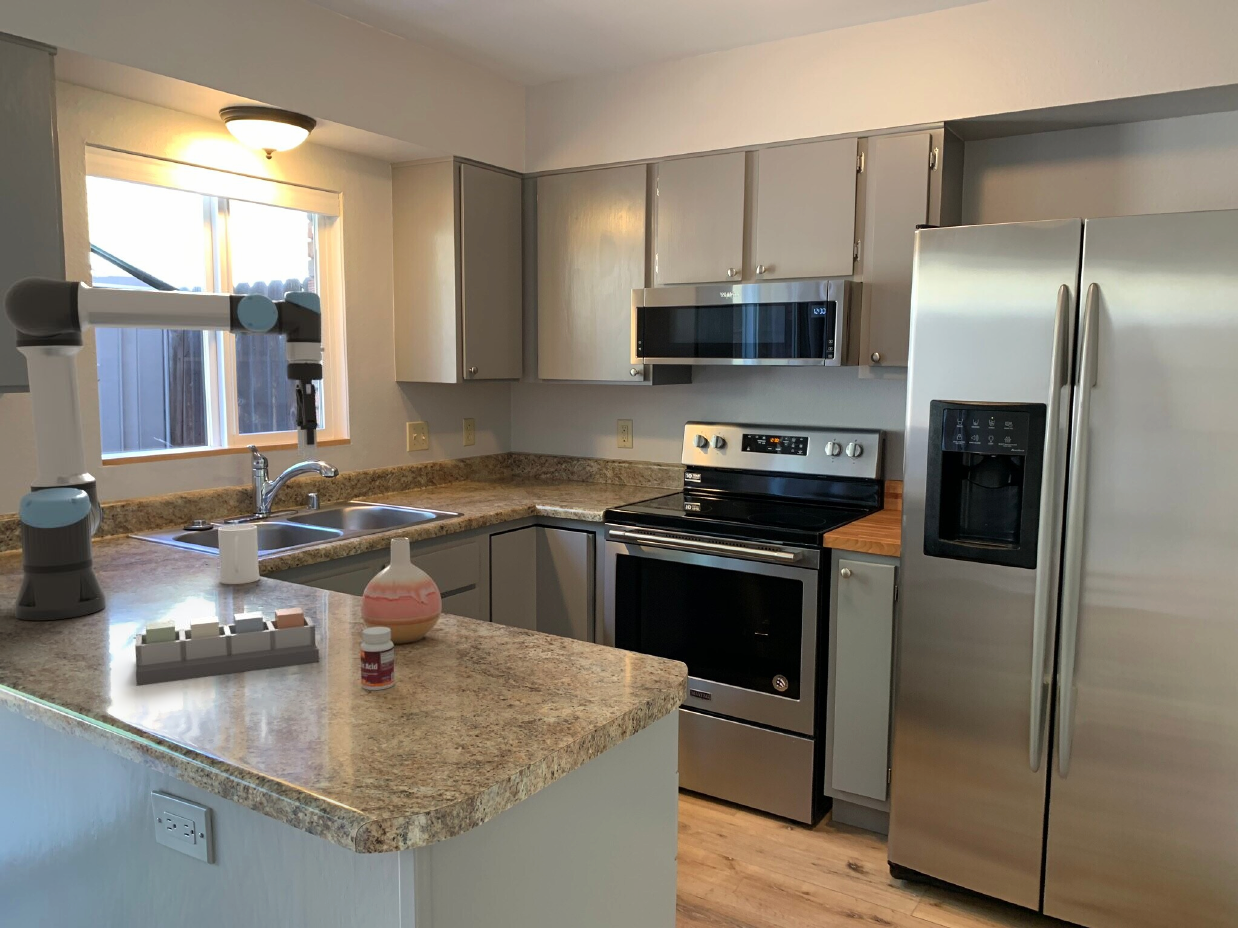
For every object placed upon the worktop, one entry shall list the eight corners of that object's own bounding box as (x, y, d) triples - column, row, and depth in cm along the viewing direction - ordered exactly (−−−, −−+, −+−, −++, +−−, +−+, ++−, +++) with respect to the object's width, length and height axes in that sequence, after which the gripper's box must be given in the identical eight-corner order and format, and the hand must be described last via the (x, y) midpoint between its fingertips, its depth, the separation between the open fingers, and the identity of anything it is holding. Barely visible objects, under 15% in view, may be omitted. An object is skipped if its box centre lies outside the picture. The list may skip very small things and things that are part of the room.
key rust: (278, 633, 152) (277, 615, 151) (275, 627, 155) (274, 609, 155) (304, 630, 153) (303, 612, 153) (300, 624, 157) (300, 607, 157)
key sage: (146, 648, 143) (145, 629, 143) (147, 642, 147) (146, 623, 146) (175, 645, 145) (174, 626, 145) (175, 638, 149) (174, 620, 148)
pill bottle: (354, 687, 137) (352, 631, 137) (378, 678, 141) (377, 624, 141) (377, 693, 135) (376, 636, 134) (401, 683, 139) (400, 628, 138)
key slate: (236, 638, 149) (235, 619, 148) (234, 632, 152) (233, 614, 152) (263, 635, 151) (262, 617, 150) (260, 629, 154) (260, 611, 154)
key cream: (191, 643, 146) (190, 624, 146) (190, 637, 150) (190, 618, 149) (219, 640, 148) (218, 621, 147) (218, 634, 151) (217, 615, 151)
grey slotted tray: (136, 685, 138) (134, 652, 138) (138, 659, 151) (136, 629, 150) (319, 661, 150) (318, 630, 149) (306, 639, 162) (305, 611, 162)
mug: (253, 586, 204) (251, 532, 202) (212, 588, 202) (209, 533, 201) (263, 575, 215) (261, 523, 214) (223, 577, 213) (221, 525, 212)
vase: (414, 653, 154) (412, 548, 152) (345, 645, 159) (342, 543, 157) (456, 632, 167) (455, 534, 165) (391, 625, 171) (389, 530, 170)
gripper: (329, 361, 199) (331, 461, 201) (316, 363, 221) (318, 452, 223) (291, 361, 196) (294, 462, 198) (282, 363, 218) (285, 453, 220)
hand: (307, 457), depth 211 cm, fingers open, 13 cm apart
